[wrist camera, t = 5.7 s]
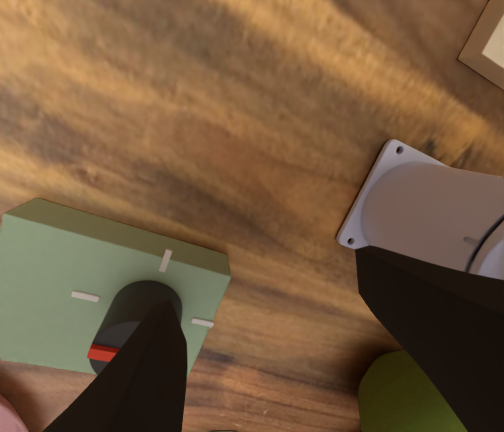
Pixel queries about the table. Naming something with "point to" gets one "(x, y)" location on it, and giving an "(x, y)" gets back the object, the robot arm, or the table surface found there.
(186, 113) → the table surface
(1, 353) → the panel
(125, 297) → the knob
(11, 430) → the plate
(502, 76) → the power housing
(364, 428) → the apple
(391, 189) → the robot arm
